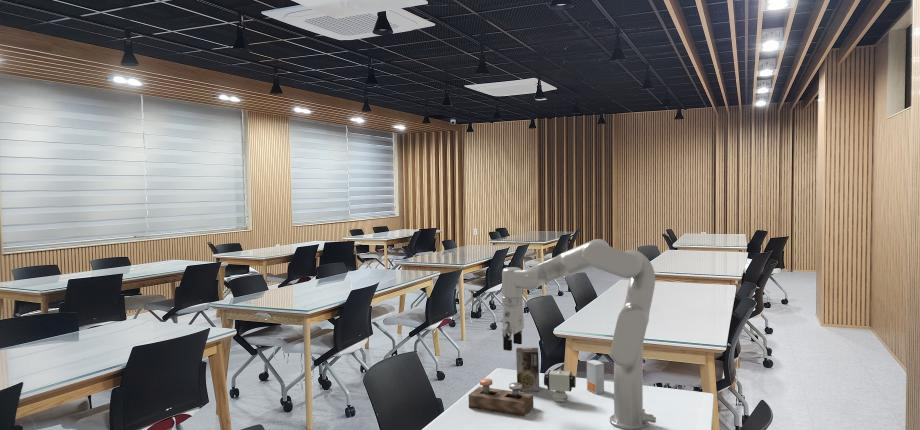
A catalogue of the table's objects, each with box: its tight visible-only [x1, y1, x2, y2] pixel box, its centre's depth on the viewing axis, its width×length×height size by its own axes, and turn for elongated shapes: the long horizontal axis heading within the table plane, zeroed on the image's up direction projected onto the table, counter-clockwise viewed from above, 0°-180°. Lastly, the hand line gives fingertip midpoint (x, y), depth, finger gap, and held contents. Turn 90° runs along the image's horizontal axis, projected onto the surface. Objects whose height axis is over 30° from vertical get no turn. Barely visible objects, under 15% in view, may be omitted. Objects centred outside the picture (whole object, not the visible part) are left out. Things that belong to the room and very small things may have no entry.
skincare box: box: [586, 359, 605, 395], centre depth 241 cm, size 6×4×12 cm
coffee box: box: [515, 347, 540, 392], centre depth 246 cm, size 9×6×16 cm
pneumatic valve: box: [543, 369, 577, 403], centre depth 232 cm, size 6×12×12 cm, turn 74°
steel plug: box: [508, 382, 522, 399], centre depth 223 cm, size 5×5×5 cm
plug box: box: [468, 386, 534, 418], centre depth 226 cm, size 22×10×5 cm, turn 64°
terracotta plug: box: [479, 378, 493, 395], centre depth 228 cm, size 5×5×5 cm
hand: (512, 346), depth 223 cm, fingers open, 9 cm apart
